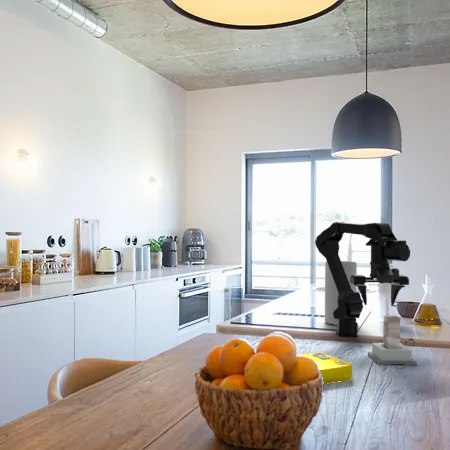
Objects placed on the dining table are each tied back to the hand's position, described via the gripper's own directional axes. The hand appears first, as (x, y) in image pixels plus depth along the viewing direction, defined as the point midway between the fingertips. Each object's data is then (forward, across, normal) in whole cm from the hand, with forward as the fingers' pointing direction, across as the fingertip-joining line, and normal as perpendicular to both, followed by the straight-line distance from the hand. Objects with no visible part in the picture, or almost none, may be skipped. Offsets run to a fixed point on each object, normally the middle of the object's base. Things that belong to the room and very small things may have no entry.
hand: (379, 305), depth 174 cm
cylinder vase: (+13, -5, +34) cm, 37 cm away
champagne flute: (+13, +16, +39) cm, 44 cm away
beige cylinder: (+12, -3, -22) cm, 25 cm away
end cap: (+13, -3, -22) cm, 25 cm away
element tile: (+14, -29, -37) cm, 49 cm away
